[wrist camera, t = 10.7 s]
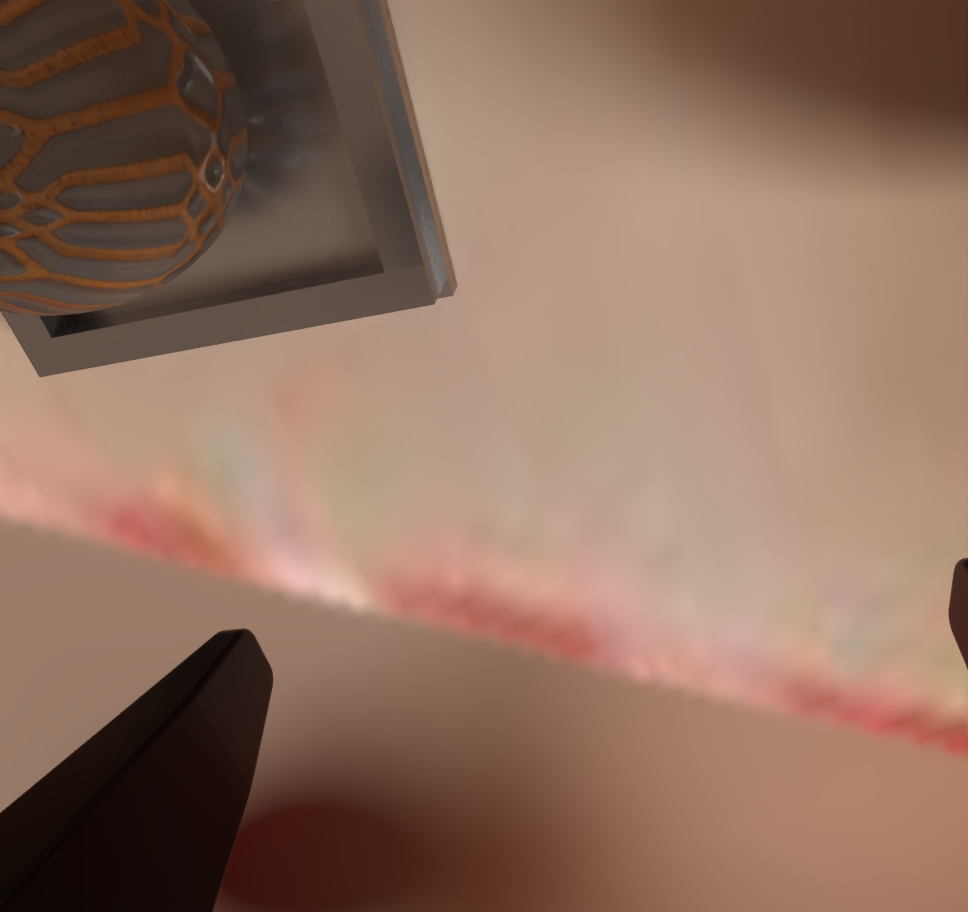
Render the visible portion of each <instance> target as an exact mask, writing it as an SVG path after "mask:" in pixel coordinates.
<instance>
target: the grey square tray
mask: <svg viewBox="0 0 968 912" xmlns="http://www.w3.org/2000/svg"><path fill="white" fill-rule="evenodd" d="M189 1H190V2H191V3H192V5H193V6H194V7H195V8H196V9H197V10H198V12H199V13H200V14H201V16H202V17H203V18H204V20H205V21H206V22H207V24H208V25H209V27H210V28H211V30H212V32H213V33H214V35H215V36H216V38H217V40H218V41H219V43H220V45H221V47H222V48H223V50H224V52H225V54H226V56H227V58H228V60H229V62H230V65H231V67H232V69H233V72H234V74H235V77H236V80H237V83H238V86H239V89H240V93H241V96H242V100H243V105H244V110H245V116H246V123H247V134H248V154H247V164H246V171H245V176H244V180H243V184H242V188H241V192H240V195H239V198H238V201H237V203H236V206H235V208H234V210H233V212H232V214H231V216H230V218H229V220H228V222H227V224H226V225H225V227H224V229H223V231H222V232H221V234H220V235H219V237H218V238H217V239H216V241H215V242H214V243H213V244H212V246H211V247H210V248H209V249H208V250H207V251H206V252H205V253H204V254H203V255H202V256H201V257H200V258H199V259H198V260H197V261H196V262H195V263H194V264H193V265H191V266H190V267H189V268H188V269H186V270H185V271H184V272H183V273H182V274H180V275H179V276H178V277H177V278H175V279H173V280H172V281H170V282H169V283H167V284H166V285H164V286H162V287H161V288H159V289H157V290H156V291H154V292H152V293H150V294H148V295H146V296H143V297H141V298H138V299H135V300H133V301H130V302H128V303H125V304H122V305H118V306H114V307H110V308H106V309H102V310H97V311H92V312H85V313H79V314H69V315H54V316H39V315H22V314H13V313H6V312H2V314H3V316H4V317H5V319H6V321H7V322H8V324H9V326H10V328H11V329H12V331H13V333H14V334H15V336H16V338H17V339H18V341H19V343H20V345H21V346H22V348H23V350H24V351H25V353H26V355H27V356H28V358H29V360H30V362H31V363H32V365H33V367H34V368H35V370H36V372H37V373H38V375H39V377H44V376H49V375H54V374H60V373H65V372H71V371H76V370H81V369H87V368H92V367H98V366H103V365H109V364H114V363H119V362H125V361H130V360H136V359H141V358H146V357H152V356H157V355H163V354H168V353H173V352H179V351H184V350H190V349H195V348H200V347H206V346H211V345H217V344H222V343H228V342H233V341H238V340H244V339H249V338H255V337H260V336H265V335H271V334H276V333H282V332H287V331H292V330H298V329H303V328H309V327H314V326H319V325H325V324H330V323H336V322H341V321H346V320H352V319H357V318H363V317H368V316H374V315H379V314H384V313H390V312H395V311H401V310H406V309H411V308H417V307H422V306H428V305H433V304H435V302H436V300H437V299H438V298H443V297H449V296H453V295H454V292H455V290H456V288H457V283H456V279H455V274H454V270H453V266H452V262H451V258H450V254H449V250H448V246H447V242H446V238H445V234H444V230H443V226H442V222H441V218H440V214H439V210H438V206H437V202H436V198H435V194H434V190H433V186H432V182H431V178H430V174H429V170H428V166H427V162H426V158H425V154H424V150H423V146H422V141H421V137H420V133H419V129H418V125H417V121H416V117H415V113H414V109H413V105H412V101H411V97H410V93H409V89H408V85H407V81H406V77H405V73H404V69H403V65H402V61H401V57H400V53H399V49H398V45H397V41H396V37H395V33H394V29H393V25H392V21H391V17H390V12H389V8H388V4H387V0H189Z"/></svg>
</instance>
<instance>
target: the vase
mask: <svg viewBox="0 0 968 912" xmlns="http://www.w3.org/2000/svg"><path fill="white" fill-rule="evenodd" d="M247 154H248V134H247V123H246V116H245V110H244V105H243V100H242V96H241V93H240V89H239V86H238V83H237V80H236V77H235V74H234V72H233V69H232V67H231V65H230V62H229V60H228V58H227V56H226V54H225V52H224V50H223V48H222V47H221V45H220V43H219V41H218V40H217V38H216V36H215V35H214V33H213V32H212V30H211V28H210V27H209V25H208V24H207V22H206V21H205V20H204V18H203V17H202V16H201V14H200V13H199V12H198V10H197V9H196V8H195V7H194V6H193V5H192V3H191V2H190V1H189V0H0V311H1V312H6V313H13V314H22V315H39V316H54V315H69V314H79V313H85V312H92V311H97V310H102V309H106V308H110V307H114V306H118V305H122V304H125V303H128V302H130V301H133V300H135V299H138V298H141V297H143V296H146V295H148V294H150V293H152V292H154V291H156V290H157V289H159V288H161V287H162V286H164V285H166V284H167V283H169V282H170V281H172V280H173V279H175V278H177V277H178V276H179V275H180V274H182V273H183V272H184V271H185V270H186V269H188V268H189V267H190V266H191V265H193V264H194V263H195V262H196V261H197V260H198V259H199V258H200V257H201V256H202V255H203V254H204V253H205V252H206V251H207V250H208V249H209V248H210V247H211V246H212V244H213V243H214V242H215V241H216V239H217V238H218V237H219V235H220V234H221V232H222V231H223V229H224V227H225V225H226V224H227V222H228V220H229V218H230V216H231V214H232V212H233V210H234V208H235V206H236V203H237V201H238V198H239V195H240V192H241V188H242V184H243V180H244V176H245V171H246V164H247Z"/></svg>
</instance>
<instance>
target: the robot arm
mask: <svg viewBox="0 0 968 912" xmlns="http://www.w3.org/2000/svg"><path fill="white" fill-rule="evenodd" d="M948 613H949V622H950V626H951V630H952V632H953V635H954V637H955V640H956V642H957V645H958V647H959V649H960V652H961V654H962V657H963V659H964V661H965V664H966V666H967V669H968V558H964V559H961V560H959V561H958V562H957V564H956V565H955V569H954V574H953V581H952V589H951V596H950V603H949V612H948ZM272 687H273V673H272V669H271V666H270V664H269V662H268V660H267V658H266V657H265V655H264V653H263V651H262V649H261V647H260V645H259V643H258V641H257V640H256V638H255V636H254V634H253V633H252V632H251V631H250V630H248V629H244V628H242V629H233V630H224V631H220V632H218V633H217V634H215V635H214V636H213V637H212V638H211V639H209V640H208V641H207V642H206V643H204V644H203V645H202V646H201V647H200V648H199V649H197V650H196V651H195V652H194V653H192V654H191V655H190V656H189V657H188V658H186V659H185V660H184V661H183V662H182V663H180V664H179V665H178V666H177V667H176V668H174V669H173V670H172V671H171V672H170V673H168V674H167V675H166V676H165V677H163V678H162V679H161V680H160V681H159V682H157V683H156V684H155V685H154V686H153V687H152V688H150V689H149V690H148V691H147V692H145V693H144V694H143V695H142V696H141V697H139V698H138V699H137V700H136V701H135V702H133V703H132V704H131V705H130V706H129V707H127V708H126V709H125V710H124V711H122V712H121V713H120V714H119V715H118V716H116V717H115V718H114V719H113V720H112V721H110V722H109V723H108V724H107V725H106V726H104V727H103V728H102V729H101V730H100V731H98V732H97V733H96V734H95V735H94V736H92V737H91V738H90V739H89V740H88V741H86V742H85V743H84V744H83V745H81V746H80V747H79V748H78V749H77V750H76V751H74V752H73V753H72V754H71V755H69V756H68V757H67V758H66V759H65V760H63V761H62V762H61V763H60V764H59V765H57V766H56V767H55V768H54V769H53V770H51V771H50V772H49V773H48V774H47V775H45V776H44V777H43V778H42V779H41V780H39V781H38V782H37V783H36V784H35V785H33V786H32V787H31V788H30V789H28V790H27V791H26V792H25V793H24V794H23V795H21V796H20V797H19V798H18V799H17V800H15V801H14V802H13V803H12V804H10V805H9V806H8V807H7V808H6V809H4V810H3V811H2V812H1V813H0V912H213V909H214V906H215V903H216V900H217V896H218V893H219V890H220V887H221V883H222V880H223V877H224V874H225V871H226V868H227V865H228V861H229V858H230V855H231V851H232V849H233V845H234V842H235V839H236V836H237V832H238V830H239V826H240V823H241V820H242V817H243V813H244V810H245V807H246V804H247V800H248V797H249V793H250V789H251V786H252V782H253V778H254V773H255V769H256V764H257V759H258V755H259V750H260V745H261V740H262V735H263V730H264V726H265V721H266V716H267V711H268V706H269V701H270V697H271V692H272Z"/></svg>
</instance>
